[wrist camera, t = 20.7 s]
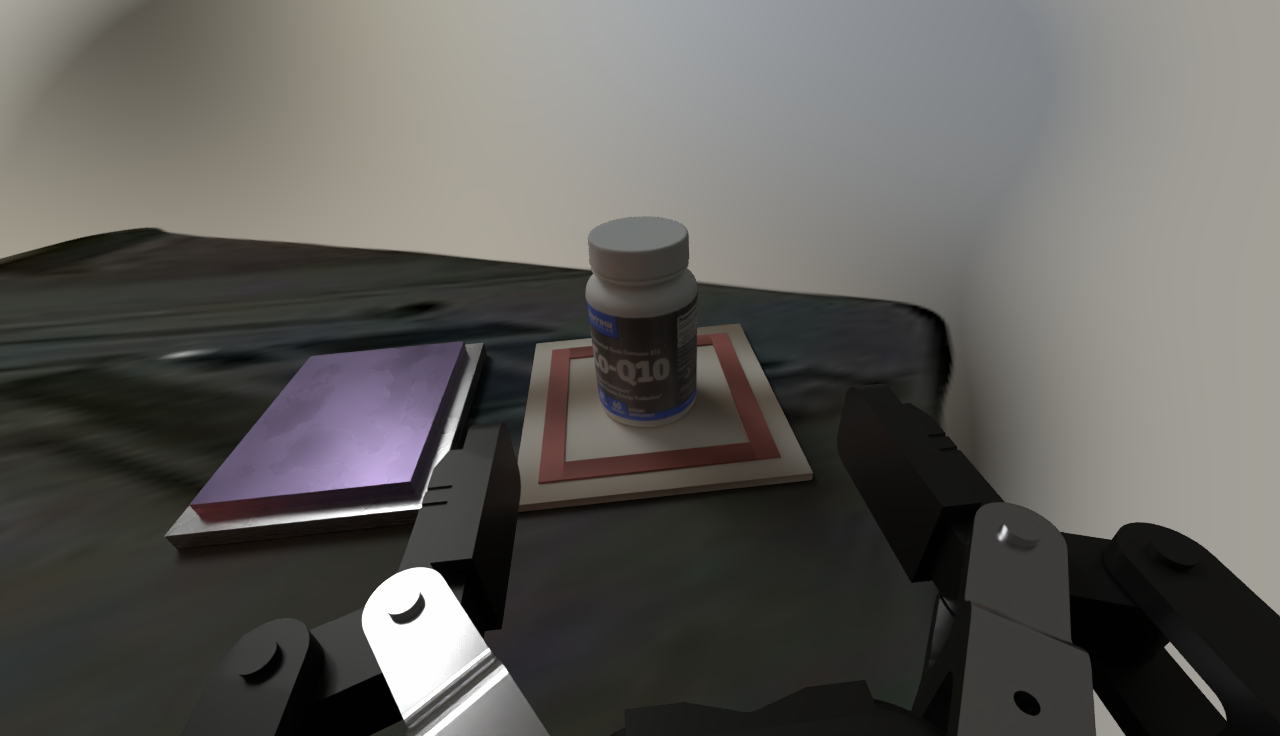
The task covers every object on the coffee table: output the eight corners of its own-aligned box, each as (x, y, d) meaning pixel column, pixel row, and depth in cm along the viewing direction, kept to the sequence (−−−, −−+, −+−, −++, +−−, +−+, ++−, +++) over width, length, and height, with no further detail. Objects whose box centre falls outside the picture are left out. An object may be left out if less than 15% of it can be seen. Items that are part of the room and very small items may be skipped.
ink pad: (437, 520, 20) (425, 494, 19) (176, 549, 20) (153, 524, 19) (487, 354, 30) (480, 332, 29) (313, 371, 29) (302, 350, 29)
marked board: (811, 480, 20) (813, 471, 20) (513, 512, 20) (510, 504, 20) (739, 329, 30) (739, 322, 30) (537, 349, 30) (536, 342, 30)
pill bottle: (583, 419, 24) (554, 248, 19) (623, 364, 27) (607, 208, 23) (679, 440, 22) (675, 260, 17) (709, 379, 26) (711, 215, 21)
